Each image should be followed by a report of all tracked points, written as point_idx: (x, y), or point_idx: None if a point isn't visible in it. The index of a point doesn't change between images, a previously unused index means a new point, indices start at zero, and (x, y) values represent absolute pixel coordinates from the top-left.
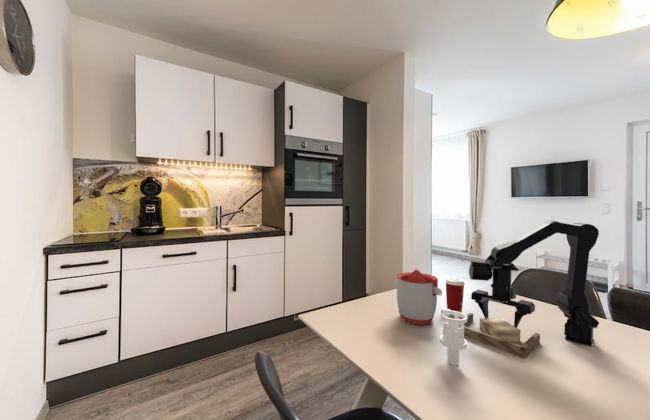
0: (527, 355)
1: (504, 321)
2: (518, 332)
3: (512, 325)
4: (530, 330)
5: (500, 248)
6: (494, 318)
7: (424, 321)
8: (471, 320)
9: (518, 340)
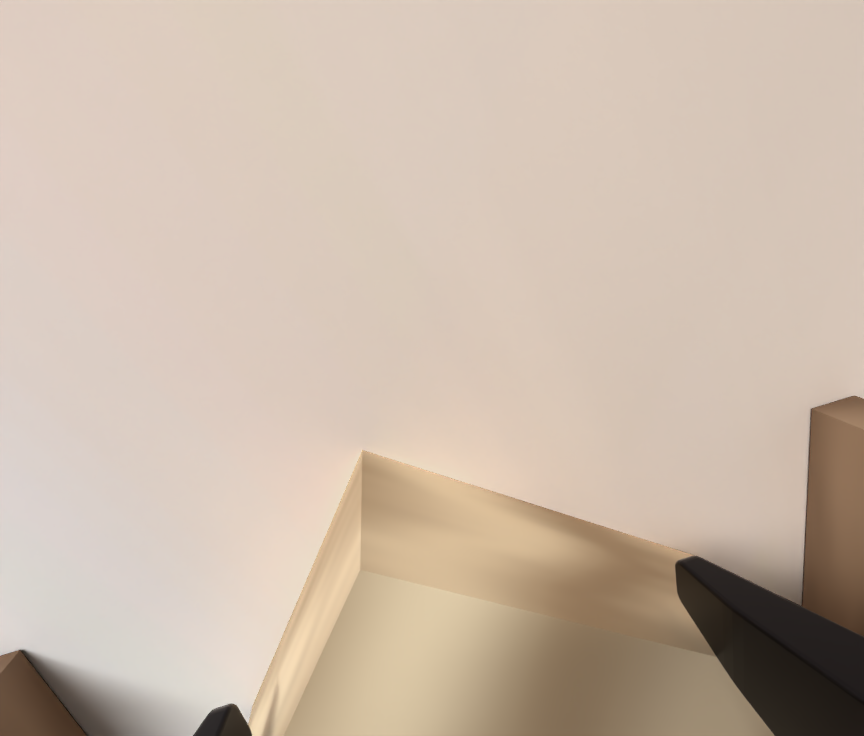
0: None
1: (512, 642)
2: None
3: (684, 653)
4: (654, 61)
5: None
6: (324, 709)
7: None
8: (31, 722)
9: None
